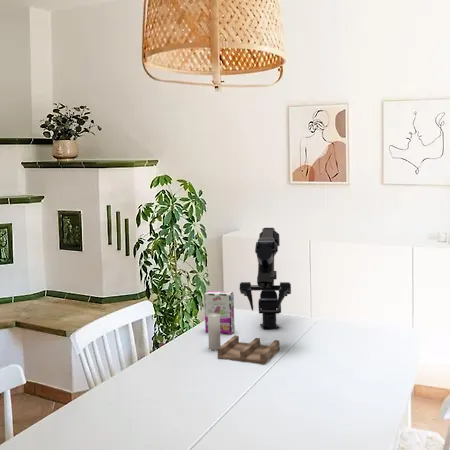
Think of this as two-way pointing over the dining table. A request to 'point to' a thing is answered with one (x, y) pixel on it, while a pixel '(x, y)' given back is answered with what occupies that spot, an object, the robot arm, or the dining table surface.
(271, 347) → the wooden compartment tray
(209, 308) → the candy bar box
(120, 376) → the dining table surface
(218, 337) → the rounded tapered clay block
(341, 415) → the dining table surface
